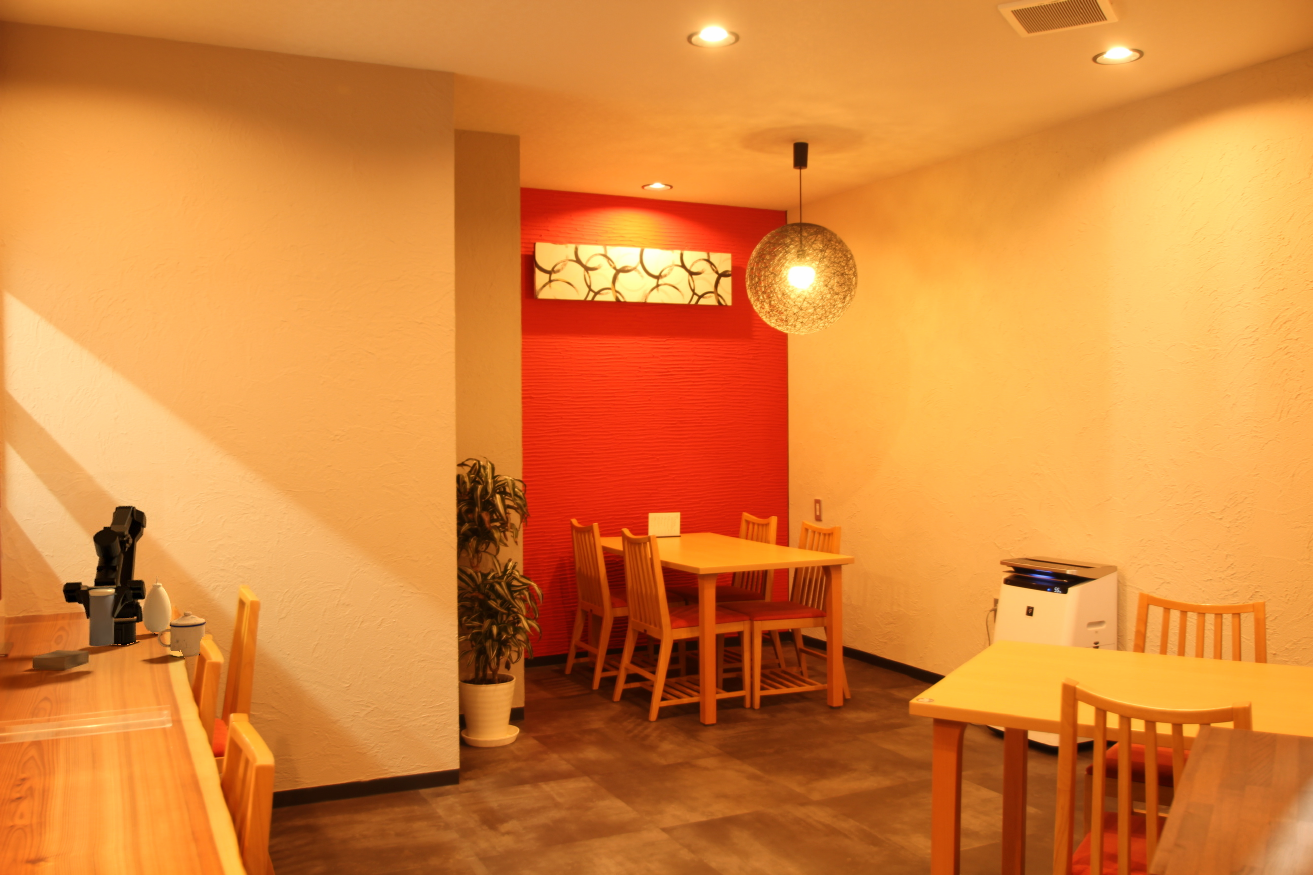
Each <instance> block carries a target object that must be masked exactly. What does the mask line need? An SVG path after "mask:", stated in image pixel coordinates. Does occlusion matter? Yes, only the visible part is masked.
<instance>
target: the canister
mask: <svg viewBox="0 0 1313 875" xmlns="http://www.w3.org/2000/svg"><path fill="white" fill-rule="evenodd" d="M114 594H115V589H112V588H102V589H93V590H90V591H89V595H90V601H89V619H88V622H89V623H88V629H89V630H88V631H89V632H88V633H89V634H88V645H89V646H90V647H105V646H112V645H111V644H113V643H114V618H113V608H114Z"/></svg>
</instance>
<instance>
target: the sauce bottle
mask: <svg viewBox="0 0 1313 875" xmlns="http://www.w3.org/2000/svg"><path fill="white" fill-rule="evenodd" d="M170 601H171V600H170V597H169V594H168V593H167V591H166V590H165V588H164V587H163V584H162V583H161V582H159V576H158V574H157V575H156V583H153V584H152V587H151V588H150V590H149V591H148V593H147V594H146V597H145V599H144V603H143V607H142V613H143V625H144V628H145V629H146V630H147V631H149V633H150V632H152V633H151V634H154V632H160V631H162V630H164V629H166V628H167V629H168V627H169V626H170V622H171V621H172V604H171V602H170Z"/></svg>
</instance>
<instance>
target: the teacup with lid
mask: <svg viewBox="0 0 1313 875" xmlns="http://www.w3.org/2000/svg"><path fill="white" fill-rule="evenodd" d="M206 624H207V623H206V619H204V618H202V617H201V618H200V617H198V616H197V615H193V614H192V611H184V612H183V615H181V616H179V617H178V618H177V619H173V620H170V623H169V626H170V628H167V629H164V630H162V631H160V632H159V634H158V635H157V641H158V643H159V645H160V646H161V647H163V648H170V649H169V650H171V651H179V652H180V650H181V652H182V654H183V656H184V657H183V658H190V657H196V656H200V655H199V652H200V641H201V639H202V637H205V636H206ZM166 632H167V633H170V634H169V636H170V640H169V642H170V644H167V643H166V644H165V643H164V642H163V641H162V640H161V639H162V638H161V635H162V634H164V633H166ZM205 638H206V637H205Z"/></svg>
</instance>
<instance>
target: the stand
mask: <svg viewBox="0 0 1313 875" xmlns="http://www.w3.org/2000/svg"><path fill="white" fill-rule="evenodd" d="M89 656H90V651H89V650H66V649H65V650H63V649H61V650H60V649H58V650H54V651H49V652H46V653H43V654H41V655H40V654H39V655H36V656H33V657H32V668H34V669H33V670H46V669H47V670H51V671H53V670H55V671H66V670H70V669H72V668H75V667H79V666H82V665H85V664H89V662H90V659H89V658H90V657H89ZM32 668H31V669H32Z"/></svg>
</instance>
